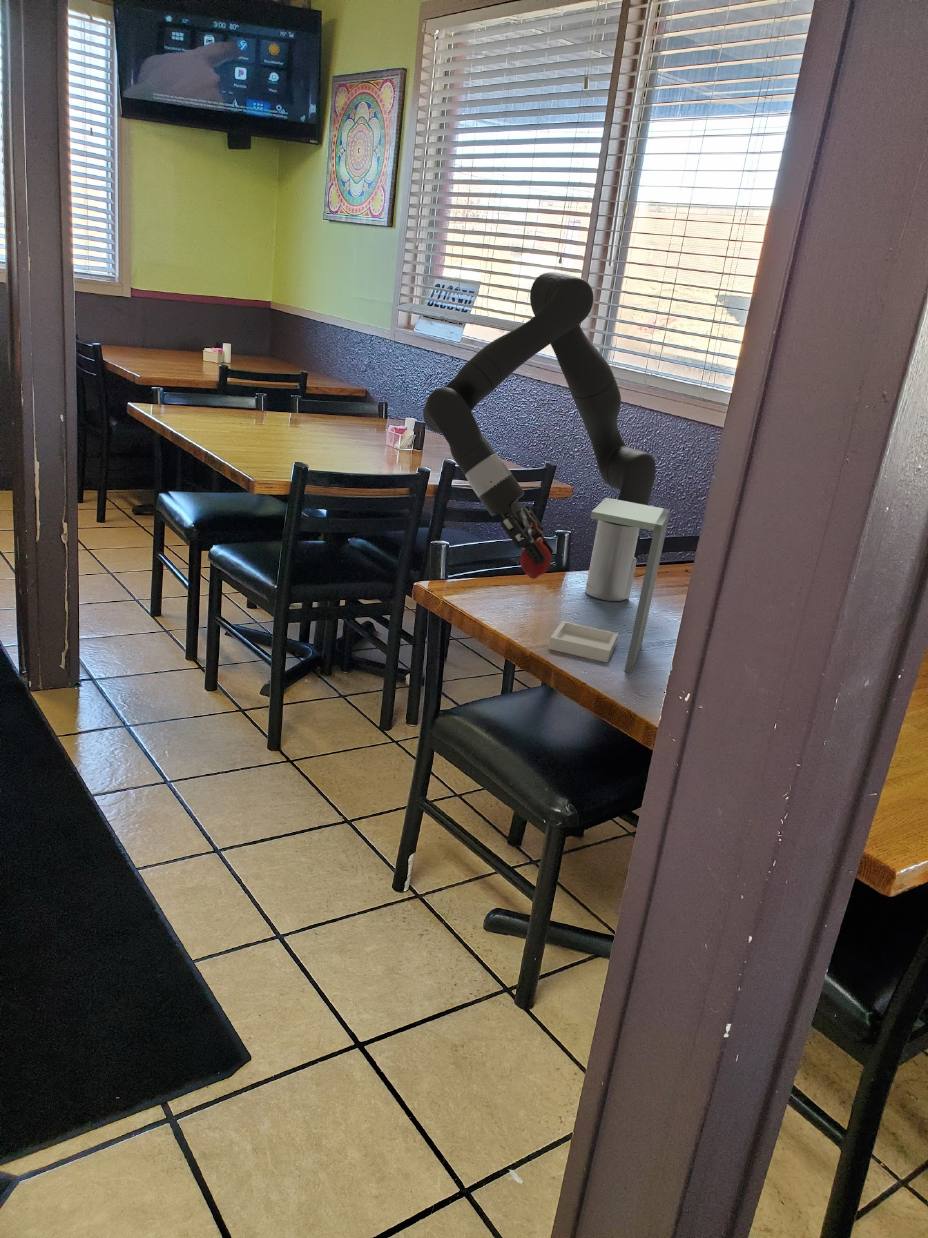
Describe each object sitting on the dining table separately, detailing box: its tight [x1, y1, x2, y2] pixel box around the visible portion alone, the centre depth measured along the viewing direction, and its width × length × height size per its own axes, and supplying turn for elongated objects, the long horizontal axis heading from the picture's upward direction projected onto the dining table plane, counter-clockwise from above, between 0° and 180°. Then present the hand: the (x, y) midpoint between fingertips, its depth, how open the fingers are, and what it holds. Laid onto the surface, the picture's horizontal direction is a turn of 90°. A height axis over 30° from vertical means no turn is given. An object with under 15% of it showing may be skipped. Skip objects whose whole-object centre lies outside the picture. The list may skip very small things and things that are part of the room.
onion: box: [519, 538, 553, 580], centre depth 173 cm, size 6×6×8 cm
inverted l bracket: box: [590, 497, 671, 674], centre depth 170 cm, size 12×16×27 cm
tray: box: [548, 620, 619, 663], centre depth 175 cm, size 11×11×2 cm
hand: (545, 558), depth 173 cm, fingers closed on onion, 6 cm apart
